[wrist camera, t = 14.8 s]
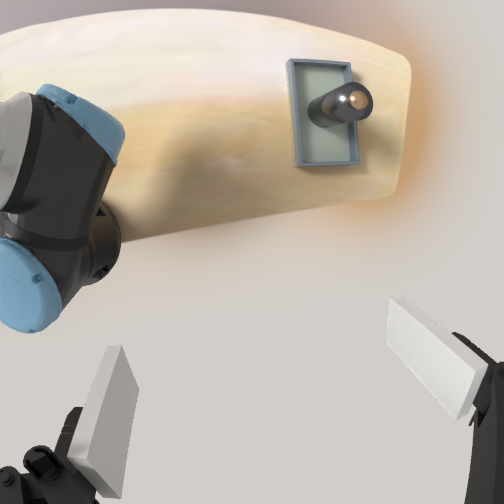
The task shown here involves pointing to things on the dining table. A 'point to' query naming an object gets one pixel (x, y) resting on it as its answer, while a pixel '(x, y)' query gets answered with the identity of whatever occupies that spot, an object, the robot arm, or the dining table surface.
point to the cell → (341, 105)
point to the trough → (303, 130)
